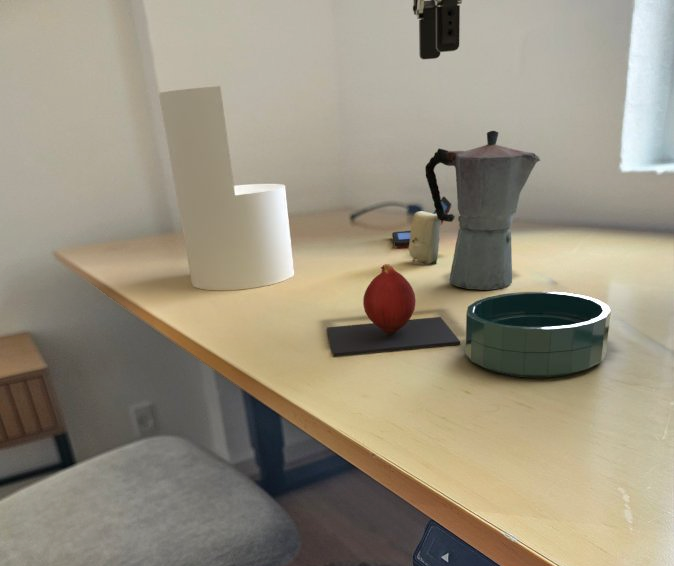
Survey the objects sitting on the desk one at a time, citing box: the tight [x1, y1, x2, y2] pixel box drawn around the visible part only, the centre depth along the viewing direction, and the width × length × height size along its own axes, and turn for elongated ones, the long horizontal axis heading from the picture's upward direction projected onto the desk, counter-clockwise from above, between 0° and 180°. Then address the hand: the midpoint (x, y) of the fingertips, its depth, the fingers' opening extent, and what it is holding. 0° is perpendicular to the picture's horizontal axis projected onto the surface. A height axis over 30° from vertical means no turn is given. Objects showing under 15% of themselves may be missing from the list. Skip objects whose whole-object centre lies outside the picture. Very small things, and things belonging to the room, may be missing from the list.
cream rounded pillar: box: [408, 210, 442, 266], centre depth 109 cm, size 6×5×8 cm
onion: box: [362, 263, 417, 334], centre depth 74 cm, size 6×6×8 cm
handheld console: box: [391, 196, 452, 249], centre depth 127 cm, size 12×11×7 cm
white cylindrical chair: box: [158, 85, 295, 291], centre depth 104 cm, size 17×17×28 cm
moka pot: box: [425, 130, 541, 291], centre depth 91 cm, size 10×15×20 cm, turn 71°
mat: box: [326, 316, 461, 358], centre depth 76 cm, size 14×10×1 cm
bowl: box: [465, 291, 612, 379], centre depth 65 cm, size 13×13×5 cm
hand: (438, 55), depth 69 cm, fingers open, 8 cm apart
